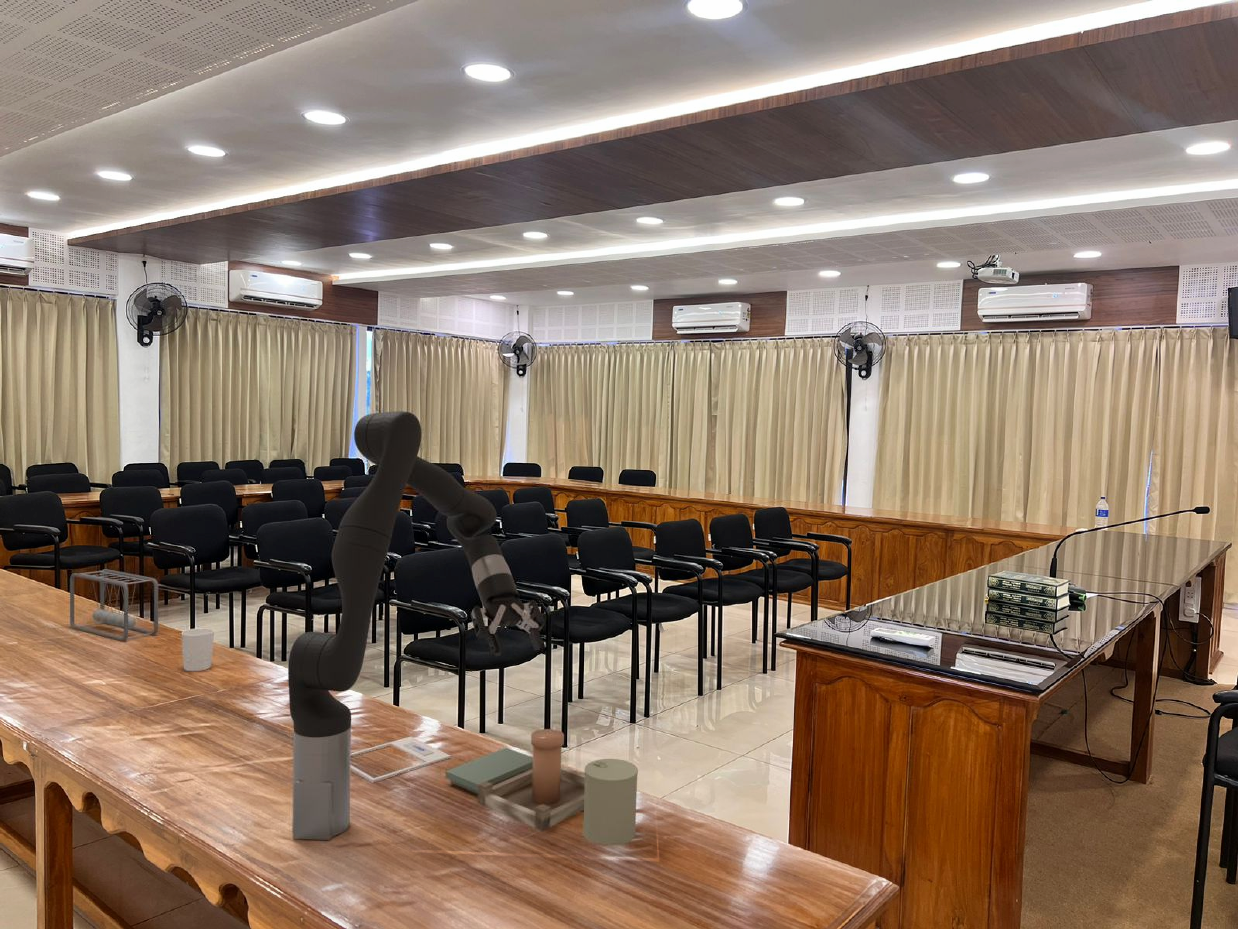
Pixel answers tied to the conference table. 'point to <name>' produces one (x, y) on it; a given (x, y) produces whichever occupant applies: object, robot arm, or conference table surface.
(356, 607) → the robot arm
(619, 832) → the can
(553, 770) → the brown capped bottle
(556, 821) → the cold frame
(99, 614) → the newton's cradle
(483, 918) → the conference table surface
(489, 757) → the green stand
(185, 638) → the white cup
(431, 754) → the photo frame
